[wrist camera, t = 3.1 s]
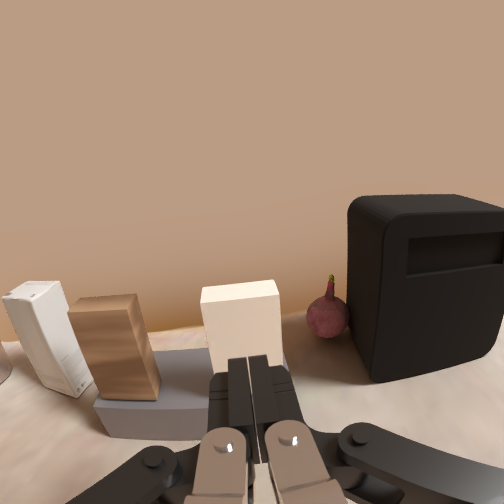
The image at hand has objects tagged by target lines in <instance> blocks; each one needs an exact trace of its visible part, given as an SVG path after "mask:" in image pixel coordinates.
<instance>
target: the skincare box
mask: <svg viewBox="0 0 504 504" xmlns="http://www.w3.org/2000/svg"><path fill="white" fill-rule="evenodd" d="M2 301H3V303H4V306H5V308H6V311H7V313H8V316H9V318H10V320H11V323H12V325H13V327H14V329H15V332H16V334H17V336H18V338H19V340H20V343H21V345H22V347H23V349H24V351H25V353H26V355H27V357H28V359H29V361H30V362H31V364H32V366H33V368H34V370H35V372H36V374H37V375H38V377H39V379H40V381H41V382H42V384H43V386H45V387H47V388H50V389H53V390H55V391H58V392H61V393H63V394H66V395H69V396H72V397H75V398H78V397H79V396H80V395H81V394H82V392H83V391H84V390H85V389H86V388H87V387H88V386H89V385H90V384H91V383H92V382H93V381H94V379H93V377H92V375H91V373H90V371H89V368H88V366H87V364H86V362H85V359H84V357H83V354H82V352H81V350H80V347H79V345H78V342H77V340H76V337H75V334H74V332H73V329H72V326H71V323H70V321H69V318H68V315H67V312H68V310H69V307H68V304H67V301H66V299H65V296H64V293H63V290H62V287H61V284H60V281H27V282H25V283H23V284H22V285H20V286H18V287H17V288H15V289H14V290H12V291H11V292H9V293H8V294H6V295H5V296H3V297H2Z"/></svg>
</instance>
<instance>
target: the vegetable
mask: <svg viewBox="0 0 504 504" xmlns="http://www.w3.org/2000/svg"><path fill="white" fill-rule="evenodd" d="M329 277H330V278H329V282H328V287H327V291H326V294H325V296H322V297H320V298H318V299H316V300H315V301H314V302H313V303H312V304H311V305H310V306H309V308H308V310H307V314H306V319H307V323H308V326H309V328H310V329H311V330H312V332H313V333H315V334H316V335H318V336H320V337H323V338H324V337H325V338H331V337H335V336H337V335H339V334H340V333H341V332H343V331H344V329H345V328H346V327H347V325H348V323H349V319H350V312H349V308H348V306H347V305H346V303H345V302H344V301H342V300H341V299H339V298H338V297H335V296H334V284H335V283H334V281H333V280H334V276H333V275H330V276H329Z"/></svg>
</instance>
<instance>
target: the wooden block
mask: <svg viewBox="0 0 504 504" xmlns="http://www.w3.org/2000/svg"><path fill="white" fill-rule="evenodd" d="M200 305H201V310H202V316H203V322H204V327H205V332H206V337H207V342H208V347H209V352H210V357H211V362H212V367H213V371H214V375H215V373H218V372H228V359H231V358H240V357H246V358H247V365H248V372H249V378H250V370H249V362H248V356H256V355H264V354H266V355H267V359H268V364H269V367H270V366H277V365H282V366H283V352H282V332H281V314H280V297H279V292H278V290H277V287H276V284H275V282H274V280H265V281H257V282H249V283H240V284H230V285H221V286H212V287H203V289H202V295H201V301H200ZM250 385H251V379H250ZM251 393H252V388H251Z"/></svg>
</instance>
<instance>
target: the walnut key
mask: <svg viewBox="0 0 504 504" xmlns="http://www.w3.org/2000/svg"><path fill="white" fill-rule="evenodd" d="M67 315H68V318H69V321H70V323H71V326H72V329H73V332H74V334H75V337H76V340H77V342H78V345H79V347H80V350H81V352H82V354H83V357H84V359H85V362H86V364H87V366H88V368H89V371H90V373H91V375H92V377H93V379H94V382H95V384H96V386H97V388H98V390H99V392H100V394H101V396H102V398H103V399H118V400H157V399H158V395H159V391H160V387H161V383H162V379H161V376H160V373H159V370H158V367H157V364H156V361H155V358H154V355H153V351H152V348H151V345H150V342H149V338H148V335H147V331H146V328H145V324H144V321H143V317H142V313H141V310H140V306H139V302H138V298H137V294H126V295H113V296H100V297H88V298H80V299H79V300H78V301H77V302H76V303H75V304H74V305H73V306H72V307H71V308H70V309H69V310H68V312H67Z"/></svg>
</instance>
